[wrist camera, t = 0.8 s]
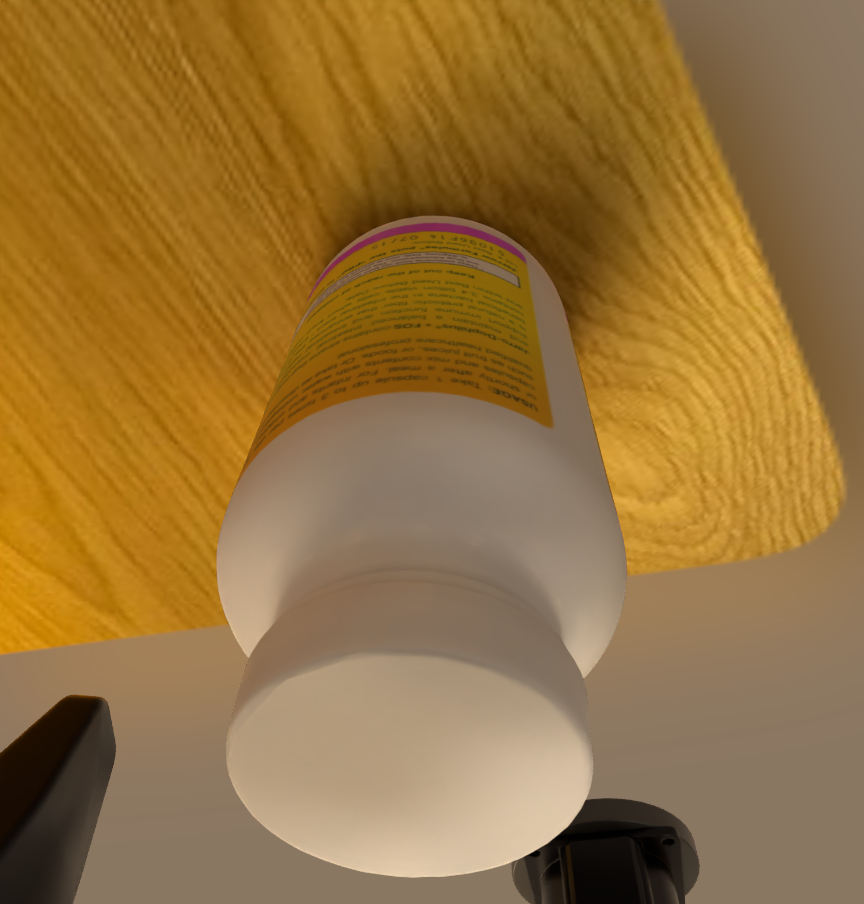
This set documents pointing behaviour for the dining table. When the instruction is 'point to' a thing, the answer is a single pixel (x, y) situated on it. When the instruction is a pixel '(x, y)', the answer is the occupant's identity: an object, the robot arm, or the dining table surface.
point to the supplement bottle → (421, 563)
